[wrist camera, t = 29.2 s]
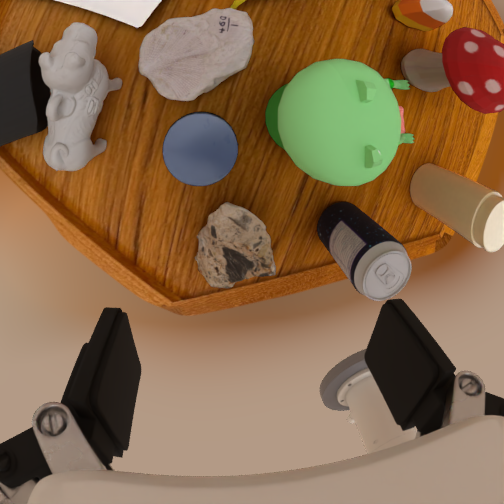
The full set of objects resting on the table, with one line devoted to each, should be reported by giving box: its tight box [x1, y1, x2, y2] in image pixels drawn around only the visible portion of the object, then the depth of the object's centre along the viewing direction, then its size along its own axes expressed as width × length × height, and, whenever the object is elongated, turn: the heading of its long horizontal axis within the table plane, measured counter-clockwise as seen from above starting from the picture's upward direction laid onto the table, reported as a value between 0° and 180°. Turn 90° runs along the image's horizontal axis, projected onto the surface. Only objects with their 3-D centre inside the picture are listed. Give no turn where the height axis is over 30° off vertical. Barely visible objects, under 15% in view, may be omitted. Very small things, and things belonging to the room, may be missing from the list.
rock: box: [195, 202, 276, 288], centre depth 30 cm, size 9×7×10 cm
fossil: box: [139, 8, 254, 101], centre depth 21 cm, size 9×6×10 cm
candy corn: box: [392, 0, 453, 31], centre depth 18 cm, size 6×3×8 cm, turn 86°
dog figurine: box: [39, 22, 122, 171], centre depth 19 cm, size 5×13×11 cm, turn 164°
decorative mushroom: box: [401, 27, 504, 114], centre depth 19 cm, size 10×9×15 cm
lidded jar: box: [410, 163, 504, 252], centre depth 27 cm, size 6×6×13 cm
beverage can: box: [317, 202, 411, 301], centre depth 28 cm, size 6×6×12 cm
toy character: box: [266, 59, 415, 186], centre depth 22 cm, size 10×18×13 cm, turn 100°
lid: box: [163, 113, 238, 186], centre depth 26 cm, size 7×7×2 cm
